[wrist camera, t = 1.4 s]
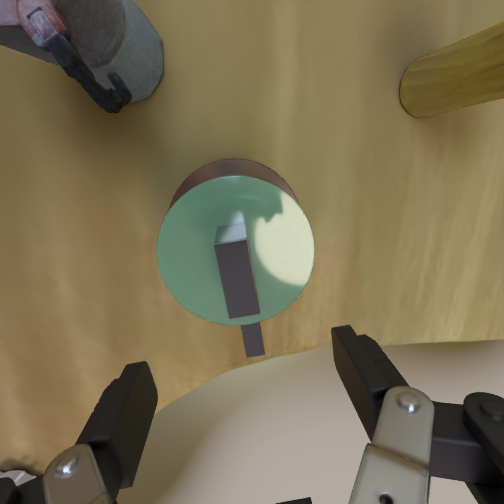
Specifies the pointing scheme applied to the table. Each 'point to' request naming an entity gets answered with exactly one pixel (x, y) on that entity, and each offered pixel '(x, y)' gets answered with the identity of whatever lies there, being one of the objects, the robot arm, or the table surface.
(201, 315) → the pot
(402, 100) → the vase
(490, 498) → the robot arm
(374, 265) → the table surface
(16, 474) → the charger
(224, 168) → the trivet
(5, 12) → the moka pot
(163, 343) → the table surface
